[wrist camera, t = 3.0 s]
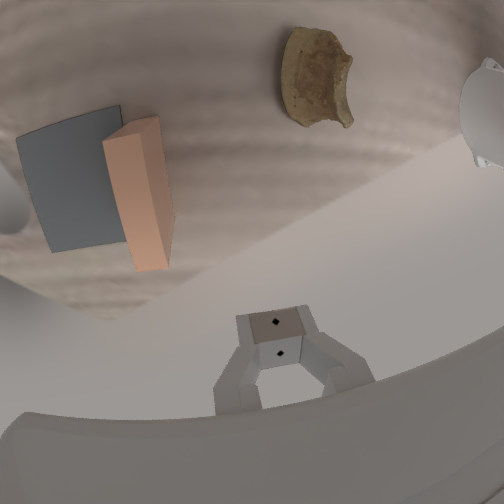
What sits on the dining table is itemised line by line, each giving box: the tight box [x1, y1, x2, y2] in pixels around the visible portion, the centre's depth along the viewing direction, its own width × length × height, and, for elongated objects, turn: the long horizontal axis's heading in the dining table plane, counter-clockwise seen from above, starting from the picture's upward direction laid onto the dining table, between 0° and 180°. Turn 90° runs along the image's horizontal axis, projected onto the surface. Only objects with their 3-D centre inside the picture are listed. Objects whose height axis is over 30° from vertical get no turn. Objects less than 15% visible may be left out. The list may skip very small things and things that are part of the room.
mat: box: [16, 105, 127, 253], centre depth 29 cm, size 14×16×1 cm
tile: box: [102, 116, 175, 272], centre depth 26 cm, size 3×12×10 cm, turn 3°
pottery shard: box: [281, 27, 354, 128], centre depth 23 cm, size 11×4×10 cm, turn 178°
